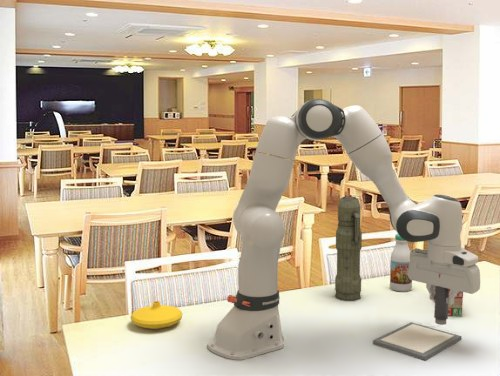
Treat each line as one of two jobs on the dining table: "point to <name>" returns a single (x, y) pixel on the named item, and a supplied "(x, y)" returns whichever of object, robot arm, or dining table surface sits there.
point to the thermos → (348, 250)
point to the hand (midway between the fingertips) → (441, 301)
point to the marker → (441, 305)
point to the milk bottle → (400, 266)
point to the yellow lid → (156, 316)
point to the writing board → (417, 340)
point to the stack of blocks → (455, 304)
